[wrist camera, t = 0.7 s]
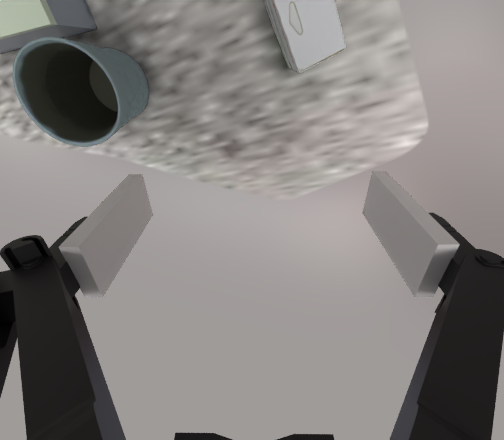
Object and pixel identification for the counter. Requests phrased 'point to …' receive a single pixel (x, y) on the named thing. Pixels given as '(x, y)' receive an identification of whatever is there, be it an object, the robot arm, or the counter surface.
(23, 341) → the robot arm
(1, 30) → the lid
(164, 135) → the counter surface
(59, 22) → the tub
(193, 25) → the counter surface
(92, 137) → the teal cup
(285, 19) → the ink box
